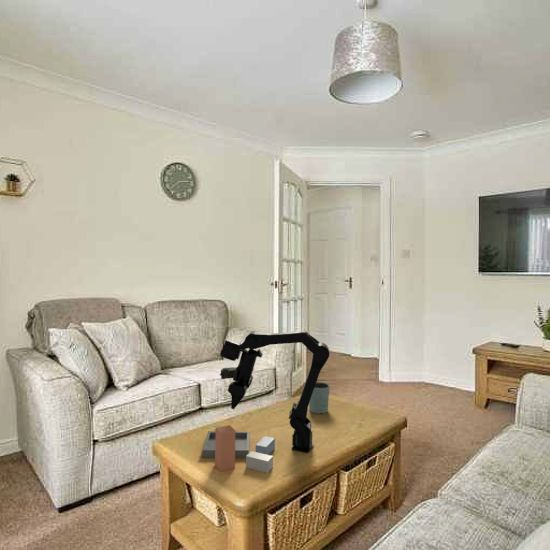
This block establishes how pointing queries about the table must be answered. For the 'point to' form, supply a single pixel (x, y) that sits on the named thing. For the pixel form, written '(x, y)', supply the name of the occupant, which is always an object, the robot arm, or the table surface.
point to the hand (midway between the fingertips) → (235, 404)
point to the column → (225, 448)
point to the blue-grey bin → (319, 398)
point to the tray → (240, 444)
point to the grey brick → (259, 461)
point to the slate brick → (265, 445)
